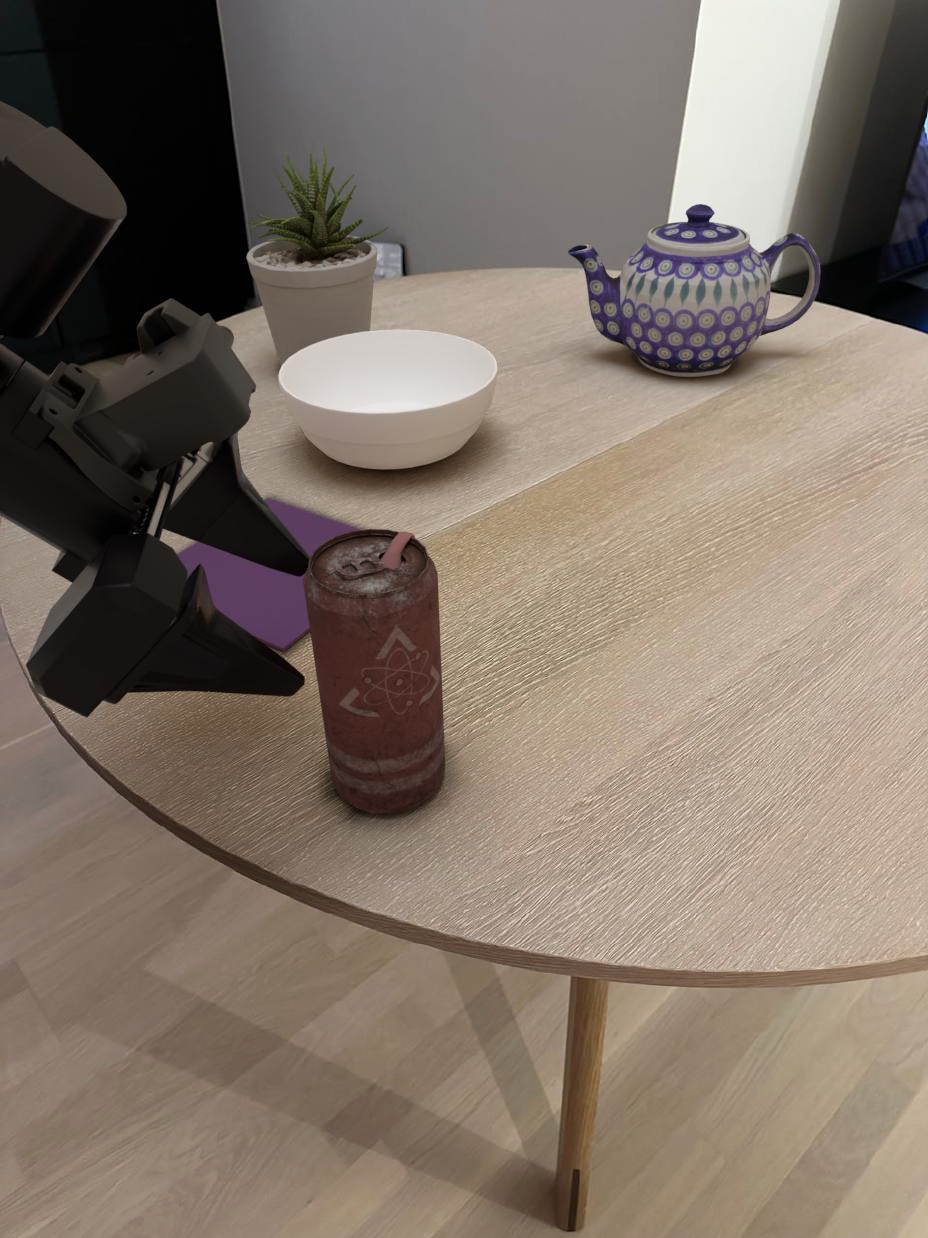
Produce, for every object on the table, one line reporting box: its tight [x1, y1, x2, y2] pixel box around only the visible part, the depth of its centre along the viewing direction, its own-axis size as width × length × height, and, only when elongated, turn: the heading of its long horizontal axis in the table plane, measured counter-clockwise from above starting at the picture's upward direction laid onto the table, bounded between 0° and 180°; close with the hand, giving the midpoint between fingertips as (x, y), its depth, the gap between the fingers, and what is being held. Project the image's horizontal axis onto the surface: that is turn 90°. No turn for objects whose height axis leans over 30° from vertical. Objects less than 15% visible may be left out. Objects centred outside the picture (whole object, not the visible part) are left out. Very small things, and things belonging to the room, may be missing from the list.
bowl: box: [277, 328, 499, 470], centre depth 79 cm, size 18×18×7 cm
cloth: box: [176, 497, 362, 653], centre depth 66 cm, size 14×14×1 cm
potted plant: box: [245, 147, 389, 366], centre depth 91 cm, size 13×14×20 cm
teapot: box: [567, 203, 821, 378], centre depth 92 cm, size 25×15×15 cm, turn 87°
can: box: [303, 528, 446, 816], centre depth 46 cm, size 6×6×14 cm
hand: (303, 623), depth 44 cm, fingers open, 9 cm apart
